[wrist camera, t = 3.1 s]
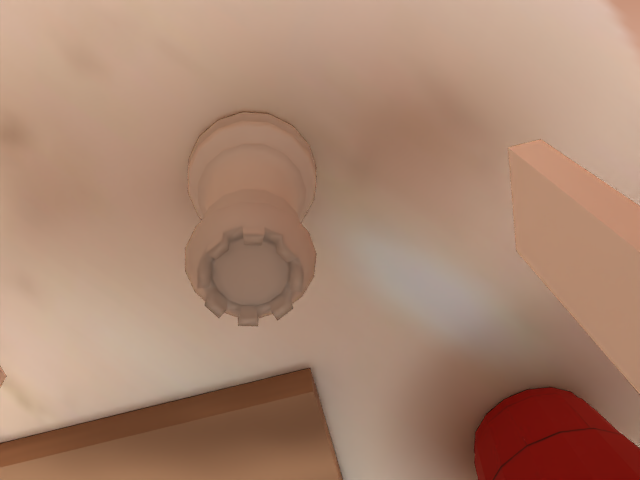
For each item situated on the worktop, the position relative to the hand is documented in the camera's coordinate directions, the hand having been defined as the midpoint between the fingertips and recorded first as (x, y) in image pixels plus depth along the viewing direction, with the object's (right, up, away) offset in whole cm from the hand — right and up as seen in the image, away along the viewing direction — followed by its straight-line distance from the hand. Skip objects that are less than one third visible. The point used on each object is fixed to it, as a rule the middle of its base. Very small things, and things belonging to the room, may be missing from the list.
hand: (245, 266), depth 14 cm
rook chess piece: (-1, +3, +7) cm, 8 cm away
